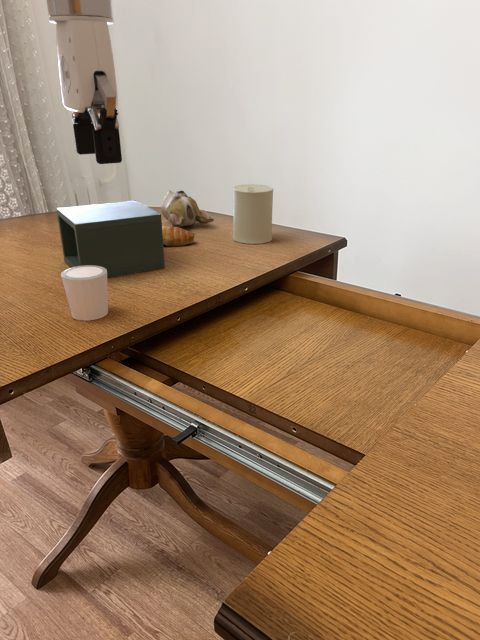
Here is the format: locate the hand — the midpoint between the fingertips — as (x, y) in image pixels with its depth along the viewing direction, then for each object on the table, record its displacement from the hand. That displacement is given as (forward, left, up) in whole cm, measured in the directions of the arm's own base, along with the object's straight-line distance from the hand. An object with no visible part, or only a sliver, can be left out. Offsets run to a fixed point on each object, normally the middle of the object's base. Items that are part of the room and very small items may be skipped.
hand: (98, 158), depth 73 cm
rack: (+8, +27, -24) cm, 37 cm away
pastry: (+24, +36, -24) cm, 49 cm away
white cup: (-3, +5, -24) cm, 25 cm away
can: (+42, +30, -24) cm, 57 cm away
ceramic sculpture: (+33, +49, -24) cm, 64 cm away
